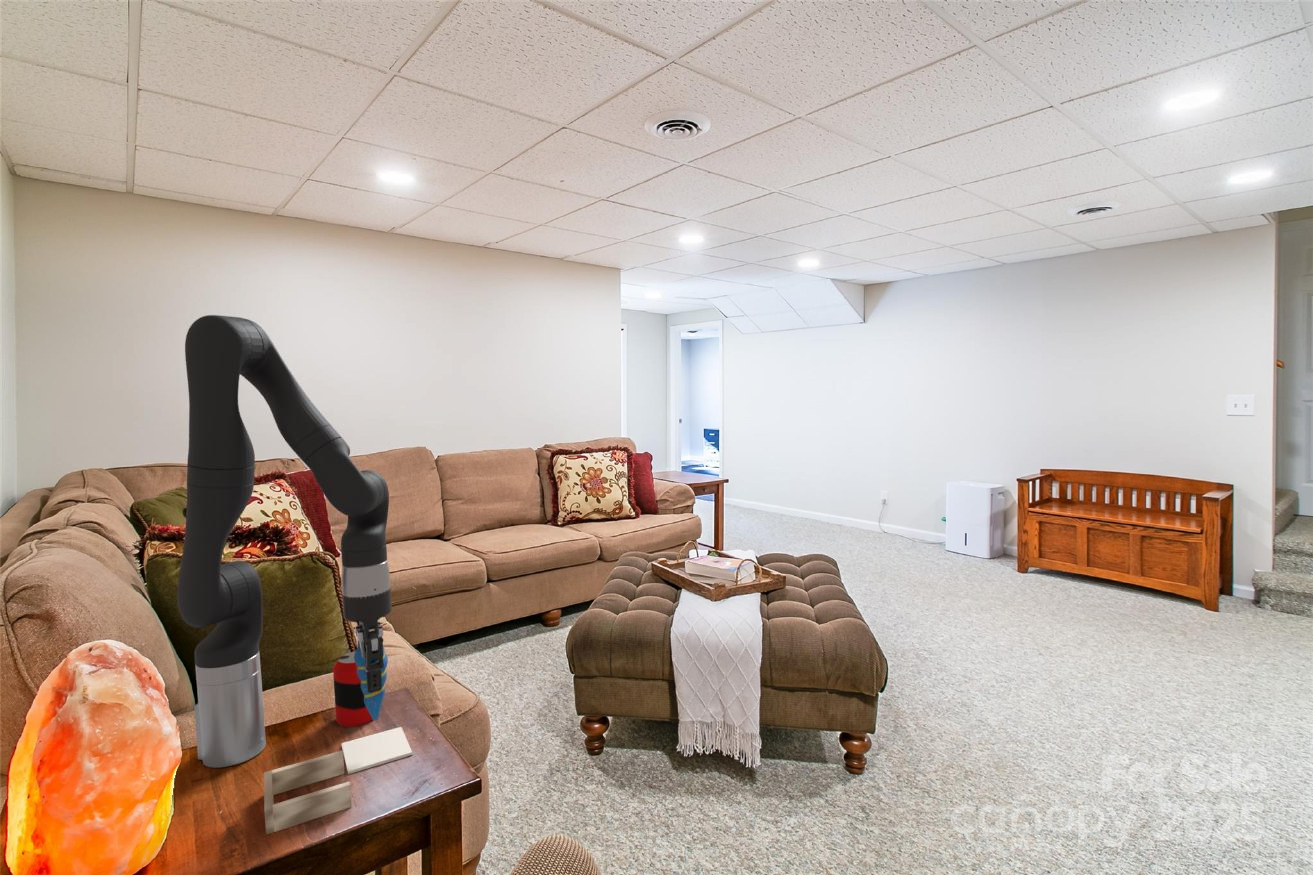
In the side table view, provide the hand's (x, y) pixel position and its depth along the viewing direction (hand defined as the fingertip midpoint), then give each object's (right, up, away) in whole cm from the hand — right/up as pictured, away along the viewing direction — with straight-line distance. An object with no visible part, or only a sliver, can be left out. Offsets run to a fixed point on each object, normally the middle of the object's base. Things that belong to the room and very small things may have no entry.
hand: (372, 684), depth 111 cm
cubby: (-4, -13, -12) cm, 18 cm away
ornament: (0, -7, +1) cm, 7 cm away
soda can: (-8, -11, +13) cm, 19 cm away
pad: (0, -12, +1) cm, 12 cm away
